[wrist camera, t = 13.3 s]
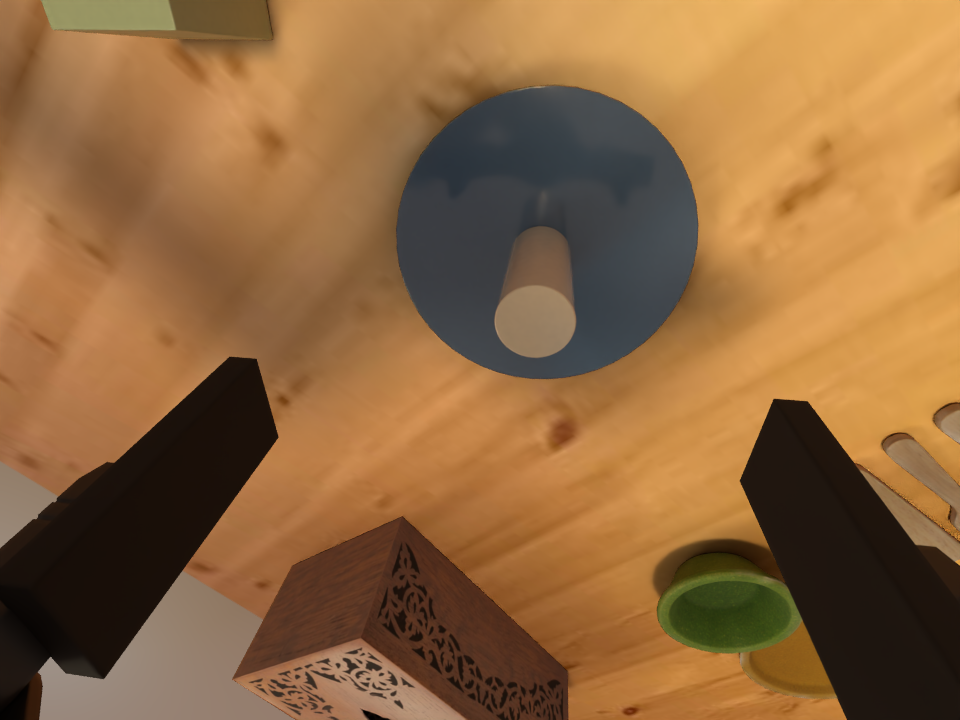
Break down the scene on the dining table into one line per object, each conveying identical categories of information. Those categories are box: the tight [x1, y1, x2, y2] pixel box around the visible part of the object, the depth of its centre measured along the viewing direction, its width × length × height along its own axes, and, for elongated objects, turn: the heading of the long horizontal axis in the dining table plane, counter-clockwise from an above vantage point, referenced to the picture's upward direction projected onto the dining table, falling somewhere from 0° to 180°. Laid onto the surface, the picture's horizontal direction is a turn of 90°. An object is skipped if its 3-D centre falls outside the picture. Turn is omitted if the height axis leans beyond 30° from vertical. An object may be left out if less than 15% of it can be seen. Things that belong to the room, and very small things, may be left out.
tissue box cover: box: [232, 517, 568, 720], centre depth 43 cm, size 26×14×10 cm, turn 37°
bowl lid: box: [396, 85, 698, 379], centre depth 23 cm, size 16×16×9 cm
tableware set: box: [657, 404, 960, 699], centre depth 35 cm, size 41×28×6 cm
